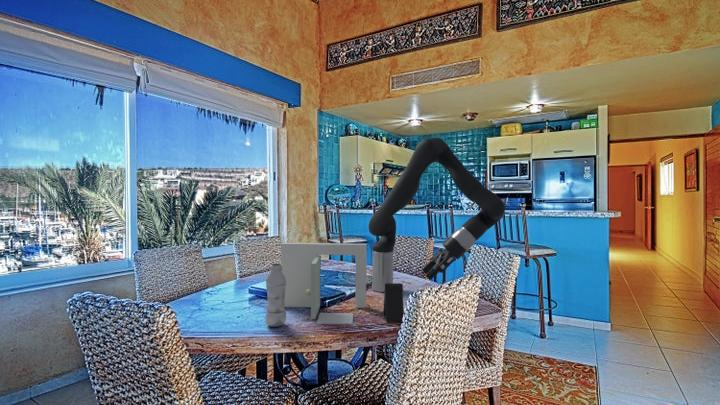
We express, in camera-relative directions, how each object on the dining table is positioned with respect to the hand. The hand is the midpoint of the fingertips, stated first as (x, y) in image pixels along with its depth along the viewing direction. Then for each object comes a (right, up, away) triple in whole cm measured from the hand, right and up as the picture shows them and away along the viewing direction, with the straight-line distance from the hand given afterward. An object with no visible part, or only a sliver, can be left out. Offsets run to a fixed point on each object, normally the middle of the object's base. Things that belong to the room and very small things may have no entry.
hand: (425, 275), depth 132 cm
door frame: (-37, -15, +3) cm, 40 cm away
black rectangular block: (-11, -15, +1) cm, 19 cm away
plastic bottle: (-50, -15, -8) cm, 53 cm away
